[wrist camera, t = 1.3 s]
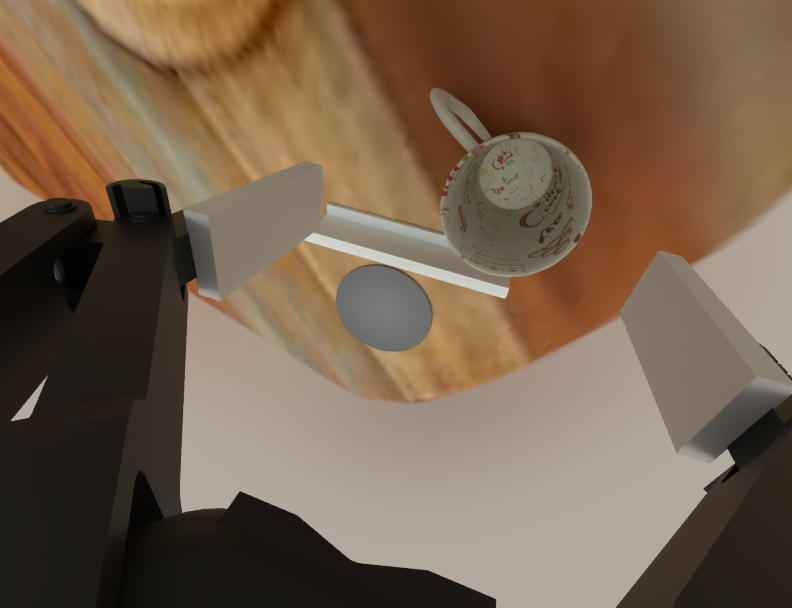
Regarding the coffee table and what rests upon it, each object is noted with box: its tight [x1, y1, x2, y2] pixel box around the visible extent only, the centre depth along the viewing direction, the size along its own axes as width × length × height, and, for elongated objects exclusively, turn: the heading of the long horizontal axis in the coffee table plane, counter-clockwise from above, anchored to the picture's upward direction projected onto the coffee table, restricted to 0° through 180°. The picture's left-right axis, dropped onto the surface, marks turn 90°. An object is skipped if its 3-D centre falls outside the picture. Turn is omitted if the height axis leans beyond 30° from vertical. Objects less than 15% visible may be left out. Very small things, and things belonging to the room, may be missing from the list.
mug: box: [430, 88, 592, 277], centre depth 24 cm, size 8×13×10 cm, turn 48°
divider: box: [304, 203, 510, 299], centre depth 32 cm, size 3×18×5 cm, turn 80°
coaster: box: [336, 265, 432, 352], centre depth 39 cm, size 11×11×1 cm
